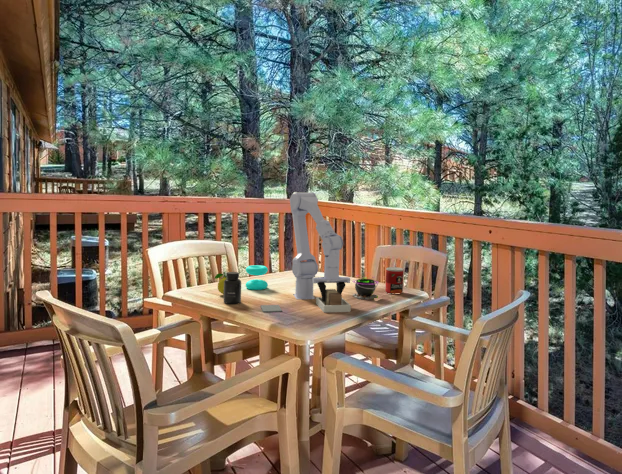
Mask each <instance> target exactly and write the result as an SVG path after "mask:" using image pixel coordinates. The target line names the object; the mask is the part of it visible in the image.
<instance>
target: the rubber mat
mask: <svg viewBox="0 0 622 474" xmlns="http://www.w3.org/2000/svg"><path fill="white" fill-rule="evenodd" d="M260 308H261V311H262V313H283V310H282V308H281V307H280V305H279V304H269V305H268V304H264V305H260Z"/></svg>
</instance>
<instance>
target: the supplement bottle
mask: <svg viewBox="0 0 622 474" xmlns="http://www.w3.org/2000/svg"><path fill="white" fill-rule="evenodd" d="M226 276H227V277H226V278H227V279H226V280H225V281H224V295H223V303H224V304H227V305H238V303H239V304H241V302H242V281H241V280H240V279H239V278H240V272H237V271H229V272H228V271H227V272H226Z"/></svg>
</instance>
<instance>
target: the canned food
mask: <svg viewBox="0 0 622 474" xmlns="http://www.w3.org/2000/svg"><path fill="white" fill-rule="evenodd" d="M384 288H385V293H386V292H387V293H386V294H388V293H403V288H404V268H402V267H395V266H391V267H386V269H385V287H384Z"/></svg>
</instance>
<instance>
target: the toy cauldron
mask: <svg viewBox="0 0 622 474" xmlns="http://www.w3.org/2000/svg"><path fill="white" fill-rule="evenodd" d="M365 273H366V275H368V273H369V274H371V272H365ZM370 276H372V278H375V275H374V276H373V275H372V274H371V275H370ZM356 277H359V274H358V275H356ZM372 278H368V277H362V278H358V279H354V280H352V283H354V285H355V286H354V289H355V292H356V293H352V297H353V298H355V299H358V300H368V301H369V300H373V299H374V298H378V296H379V295H377V294H375V293H374V292H375V291H376V288H377V287H378V285H379V283H380V282H379V281H378V280H374V279H372Z"/></svg>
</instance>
